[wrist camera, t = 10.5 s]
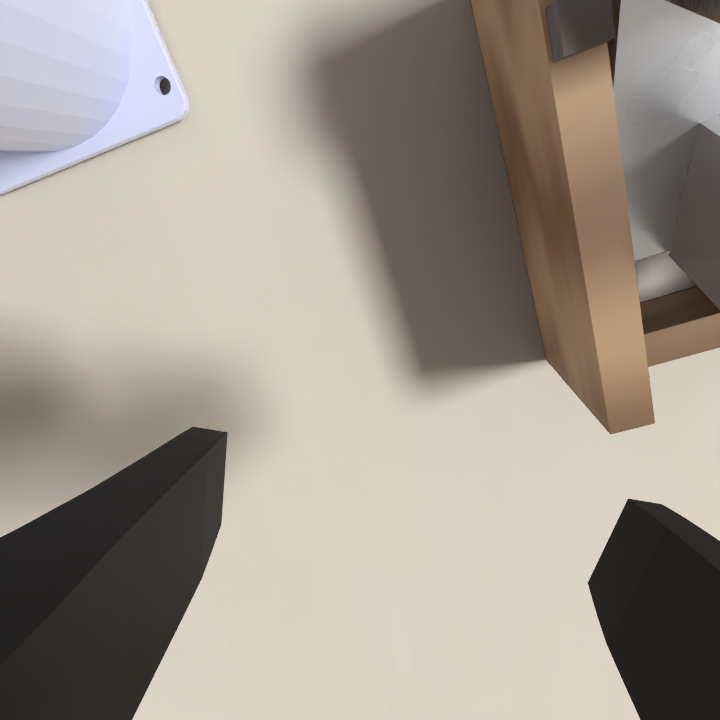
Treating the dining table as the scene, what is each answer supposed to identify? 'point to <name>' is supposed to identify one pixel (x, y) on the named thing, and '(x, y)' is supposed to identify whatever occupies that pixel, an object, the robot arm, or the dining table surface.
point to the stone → (701, 214)
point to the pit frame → (580, 206)
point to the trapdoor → (662, 105)
